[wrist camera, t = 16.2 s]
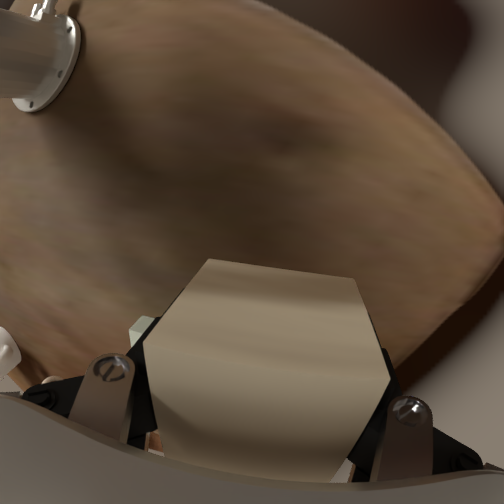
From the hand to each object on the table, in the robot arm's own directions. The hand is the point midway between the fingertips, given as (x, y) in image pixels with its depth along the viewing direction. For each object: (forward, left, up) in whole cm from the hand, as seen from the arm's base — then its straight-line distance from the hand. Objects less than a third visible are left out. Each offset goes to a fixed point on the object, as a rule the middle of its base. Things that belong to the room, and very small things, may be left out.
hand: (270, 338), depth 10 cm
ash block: (0, 0, -1) cm, 1 cm away
